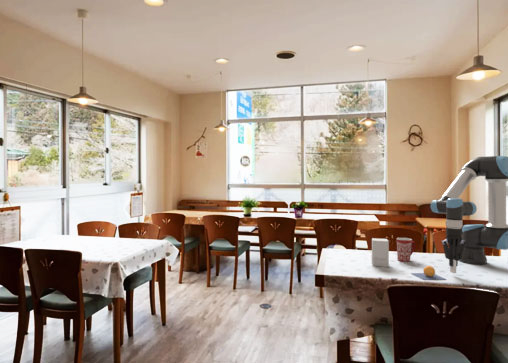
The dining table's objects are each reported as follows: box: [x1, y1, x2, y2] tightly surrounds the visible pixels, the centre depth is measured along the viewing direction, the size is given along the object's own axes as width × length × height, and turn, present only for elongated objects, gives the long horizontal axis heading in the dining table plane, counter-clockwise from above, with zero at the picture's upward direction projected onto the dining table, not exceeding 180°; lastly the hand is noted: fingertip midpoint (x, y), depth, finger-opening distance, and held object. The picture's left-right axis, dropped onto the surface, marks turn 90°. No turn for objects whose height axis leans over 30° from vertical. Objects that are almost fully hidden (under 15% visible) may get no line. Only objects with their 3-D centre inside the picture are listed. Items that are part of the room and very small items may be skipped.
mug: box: [396, 237, 416, 263], centre depth 225 cm, size 13×9×14 cm
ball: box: [423, 265, 436, 277], centre depth 188 cm, size 6×6×6 cm
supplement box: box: [371, 237, 390, 268], centre depth 213 cm, size 9×9×15 cm
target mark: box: [410, 272, 447, 281], centre depth 189 cm, size 12×12×1 cm
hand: (453, 272), depth 190 cm, fingers closed
